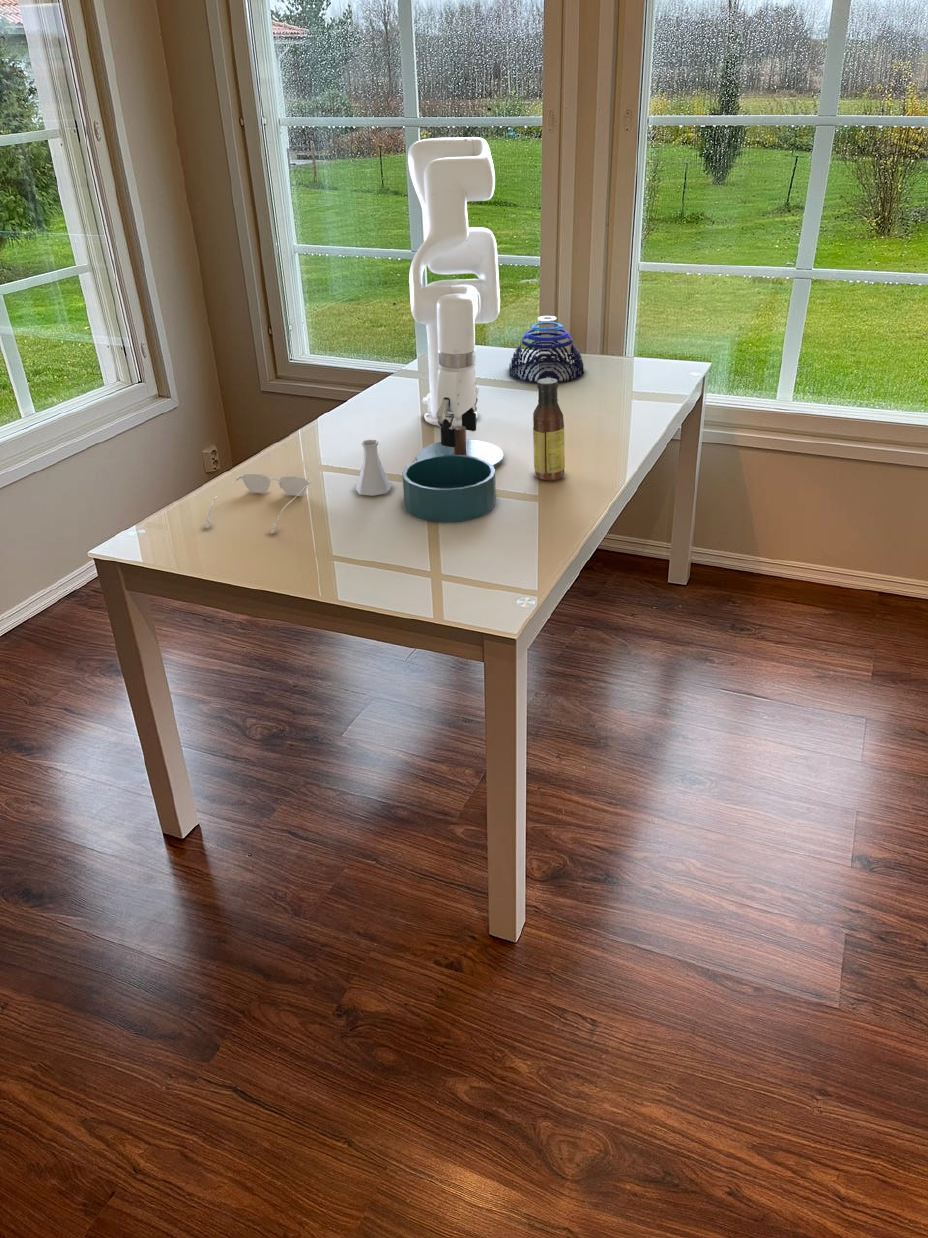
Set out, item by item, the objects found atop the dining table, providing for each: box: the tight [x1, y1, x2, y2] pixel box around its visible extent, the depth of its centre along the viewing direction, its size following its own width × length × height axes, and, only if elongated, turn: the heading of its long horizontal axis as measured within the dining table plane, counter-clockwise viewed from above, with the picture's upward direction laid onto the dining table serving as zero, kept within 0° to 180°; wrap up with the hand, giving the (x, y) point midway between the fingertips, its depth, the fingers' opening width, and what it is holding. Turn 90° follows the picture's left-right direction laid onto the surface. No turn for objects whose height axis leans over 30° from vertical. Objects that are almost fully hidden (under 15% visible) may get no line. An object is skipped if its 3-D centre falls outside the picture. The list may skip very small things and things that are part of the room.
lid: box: [416, 425, 505, 468], centre depth 201 cm, size 19×19×7 cm
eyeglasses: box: [205, 472, 312, 534], centre depth 182 cm, size 15×18×4 cm
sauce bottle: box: [532, 377, 566, 482], centre depth 189 cm, size 7×6×20 cm
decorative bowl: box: [508, 315, 585, 384], centre depth 253 cm, size 20×20×14 cm
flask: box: [355, 439, 392, 497], centre depth 188 cm, size 7×7×10 cm
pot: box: [401, 455, 497, 523], centre depth 182 cm, size 18×18×6 cm
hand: (459, 437), depth 201 cm, fingers open, 9 cm apart
